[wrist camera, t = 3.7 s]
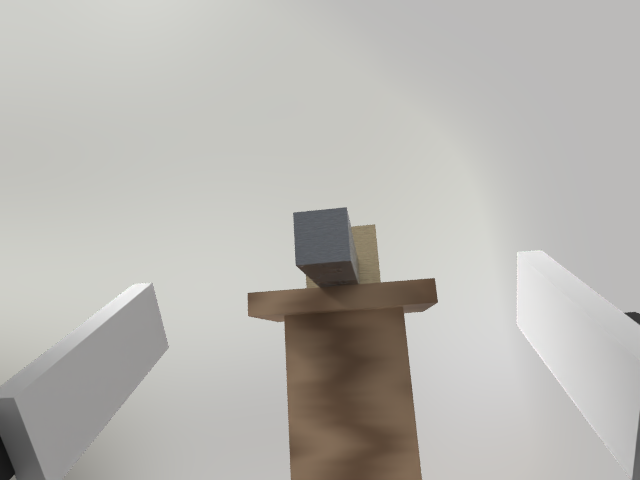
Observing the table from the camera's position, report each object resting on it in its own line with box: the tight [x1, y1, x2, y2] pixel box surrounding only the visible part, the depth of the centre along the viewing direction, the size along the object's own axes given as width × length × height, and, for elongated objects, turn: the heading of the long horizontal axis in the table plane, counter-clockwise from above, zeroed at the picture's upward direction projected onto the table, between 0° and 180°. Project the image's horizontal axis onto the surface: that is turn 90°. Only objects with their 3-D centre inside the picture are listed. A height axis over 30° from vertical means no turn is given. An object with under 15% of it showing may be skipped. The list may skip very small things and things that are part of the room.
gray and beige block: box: [293, 208, 381, 288], centre depth 27 cm, size 6×16×5 cm, turn 173°
